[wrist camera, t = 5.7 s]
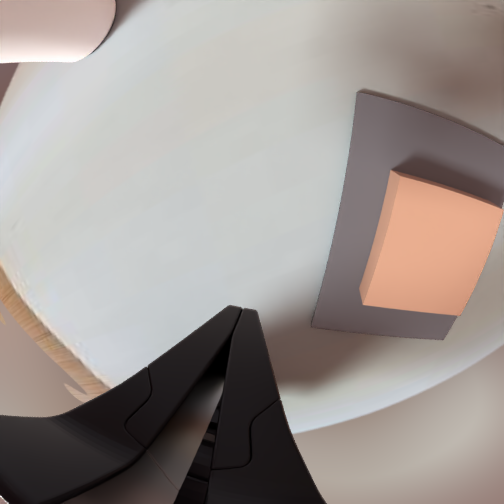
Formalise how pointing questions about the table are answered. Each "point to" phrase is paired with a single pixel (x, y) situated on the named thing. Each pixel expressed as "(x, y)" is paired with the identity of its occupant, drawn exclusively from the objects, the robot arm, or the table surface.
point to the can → (53, 29)
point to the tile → (428, 246)
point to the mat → (372, 197)
